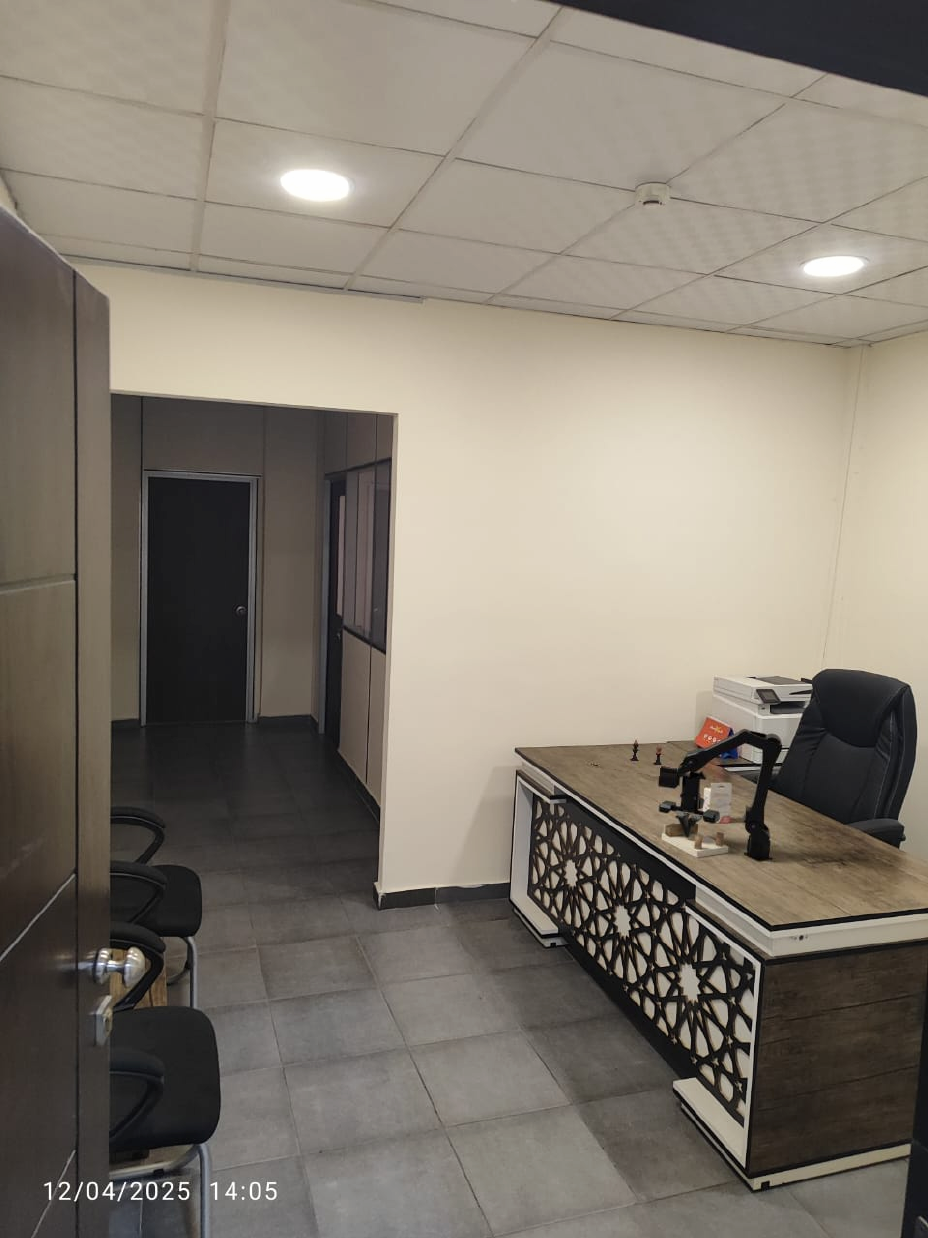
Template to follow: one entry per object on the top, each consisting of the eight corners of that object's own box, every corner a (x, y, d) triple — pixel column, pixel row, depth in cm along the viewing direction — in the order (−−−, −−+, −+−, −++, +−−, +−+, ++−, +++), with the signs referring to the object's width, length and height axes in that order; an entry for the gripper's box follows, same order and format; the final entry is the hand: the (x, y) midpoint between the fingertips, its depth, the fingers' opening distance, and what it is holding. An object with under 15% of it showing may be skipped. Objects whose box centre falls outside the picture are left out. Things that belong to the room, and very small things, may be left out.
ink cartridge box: (723, 818, 310) (726, 779, 309) (729, 823, 305) (733, 783, 304) (701, 819, 308) (704, 779, 307) (707, 823, 304) (711, 783, 302)
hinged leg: (692, 830, 288) (693, 819, 288) (697, 833, 286) (698, 821, 286) (664, 834, 283) (665, 822, 283) (669, 836, 281) (670, 824, 281)
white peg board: (727, 852, 275) (729, 834, 275) (696, 857, 269) (698, 839, 269) (691, 835, 290) (693, 818, 290) (661, 839, 284) (662, 821, 284)
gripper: (726, 790, 280) (723, 837, 281) (671, 780, 290) (668, 825, 291) (716, 798, 271) (712, 846, 272) (659, 787, 281) (656, 833, 282)
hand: (687, 837), depth 280 cm, fingers closed
